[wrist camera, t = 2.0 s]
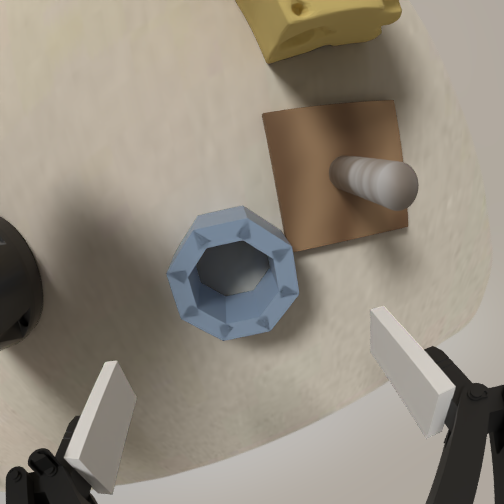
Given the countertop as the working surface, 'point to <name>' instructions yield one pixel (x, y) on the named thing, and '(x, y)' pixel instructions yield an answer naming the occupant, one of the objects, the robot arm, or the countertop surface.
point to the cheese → (315, 23)
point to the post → (339, 172)
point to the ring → (243, 304)
